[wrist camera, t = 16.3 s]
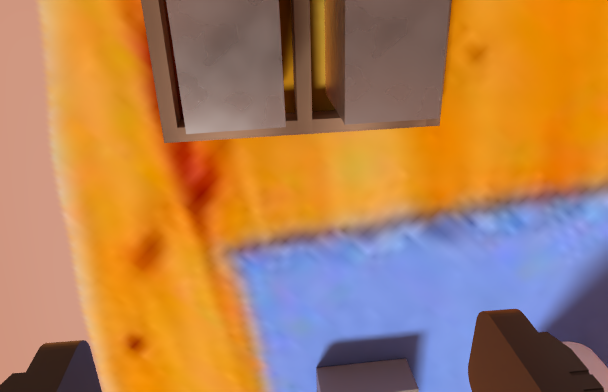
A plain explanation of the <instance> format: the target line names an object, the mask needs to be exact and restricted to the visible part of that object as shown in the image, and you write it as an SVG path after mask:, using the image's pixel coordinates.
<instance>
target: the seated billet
mask: <svg viewBox="0 0 608 392" xmlns="http://www.w3.org/2000/svg"><path fill="white" fill-rule="evenodd" d="M449 4H450V0H324V6H325V78H326V95H327V97H328V98H329V100H330V102H331V103H332V105H333V106H334V108H335V110H336V111H337V113H338V114H339V116H340V118H341V119H342V121H343V123H344V124H345V125H347V124H362V123H378V122H393V121H408V120H423V119H438V118H439V113H440V102H441V91H442V80H443V69H444V58H445V47H446V36H447V25H448V14H449Z"/></svg>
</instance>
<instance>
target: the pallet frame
mask: <svg viewBox="0 0 608 392" xmlns="http://www.w3.org/2000/svg"><path fill="white" fill-rule="evenodd" d="M451 2H452V0H450V4H449V14H448V25H447V36H446V47H445V58H444V69H443V80H442V91H441V102H440V113H439V118H438V119H423V120H408V121H393V122H378V123H362V124H347V125H345V124H344V123H343V121H342V119H341V118H340V116H339V114H338V113H337V111H336V110H329V111H312V88H311V42H310V0H291V20H292V46H293V73H294V100H295V113H285V121H286V127H281V128H267V129H253V130H238V131H224V132H210V133H195V134H186V129H185V123H184V119H181V117H180V110H179V103H178V96H177V89H176V83H175V76H174V69H173V62H172V55H171V48H170V41H169V34H168V27H167V20H166V13H165V7H164V0H141V3H142V9H143V15H144V21H145V27H146V33H147V40H148V46H149V52H150V58H151V64H152V70H153V76H154V82H155V88H156V95H157V101H158V107H159V113H160V119H161V125H162V131H163V137H164V143H171V142H187V141H203V140H219V139H234V138H250V137H266V136H282V135H298V134H314V133H329V132H345V131H361V130H377V129H393V128H409V127H424V126H439V125H440V114H441V104H442V94H443V84H444V74H445V63H446V53H447V43H448V33H449V22H450V12H451Z"/></svg>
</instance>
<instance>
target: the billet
mask: <svg viewBox="0 0 608 392" xmlns="http://www.w3.org/2000/svg"><path fill="white" fill-rule="evenodd" d="M166 3H167V10H168V16H169V23H170V30H171V36H172V43H173V50H174V56H175V63H176V70H177V76H178V83H179V89H180V96H181V103H182V109H183V116H184V123H185V129H186V134H195V133H210V132H224V131H238V130H253V129H267V128H281V127H286V121H285V103H284V85H283V67H282V49H281V31H280V13H279V0H166Z"/></svg>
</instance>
